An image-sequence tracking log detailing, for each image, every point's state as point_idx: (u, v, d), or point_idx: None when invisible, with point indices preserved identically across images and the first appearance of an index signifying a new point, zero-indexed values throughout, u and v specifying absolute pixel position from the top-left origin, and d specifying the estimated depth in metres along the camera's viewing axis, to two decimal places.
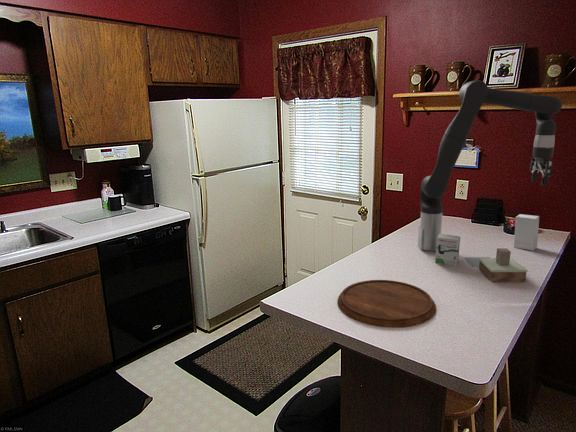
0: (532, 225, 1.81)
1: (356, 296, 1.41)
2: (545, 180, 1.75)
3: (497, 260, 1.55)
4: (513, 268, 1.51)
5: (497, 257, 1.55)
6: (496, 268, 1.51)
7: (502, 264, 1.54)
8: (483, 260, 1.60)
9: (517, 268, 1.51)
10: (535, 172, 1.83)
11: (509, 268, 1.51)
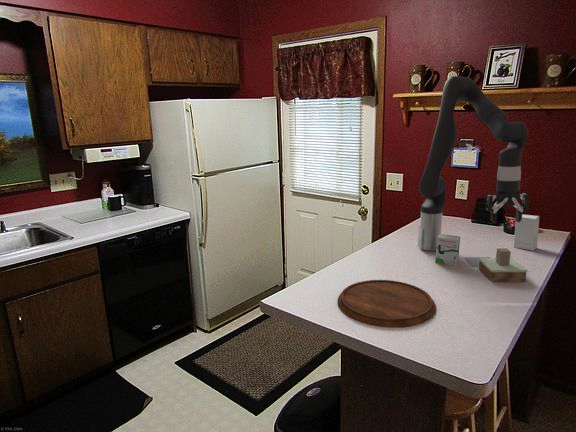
0: (532, 225, 1.81)
1: (356, 296, 1.41)
2: None
3: (497, 260, 1.55)
4: (513, 268, 1.51)
5: (497, 257, 1.55)
6: (496, 268, 1.51)
7: (502, 264, 1.54)
8: (483, 260, 1.60)
9: (517, 268, 1.51)
10: None
11: (509, 268, 1.51)
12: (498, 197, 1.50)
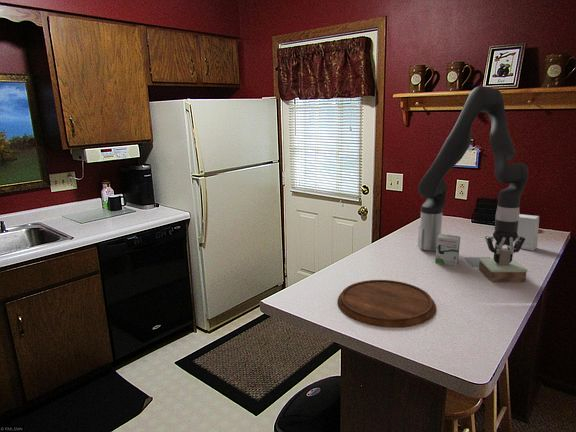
0: (532, 225, 1.81)
1: (356, 296, 1.41)
2: None
3: None
4: (513, 268, 1.51)
5: None
6: (496, 268, 1.51)
7: (502, 264, 1.54)
8: (483, 260, 1.60)
9: (517, 268, 1.51)
10: None
11: (509, 268, 1.51)
12: (496, 237, 1.52)
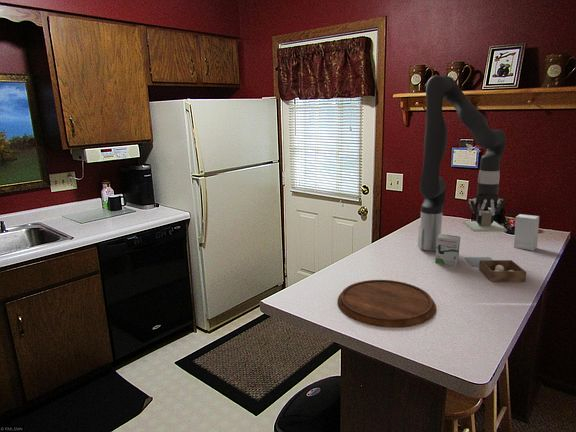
0: (532, 225, 1.81)
1: (356, 296, 1.41)
2: None
3: None
4: (494, 228, 1.62)
5: None
6: (478, 228, 1.63)
7: (484, 225, 1.65)
8: (467, 222, 1.71)
9: (497, 228, 1.62)
10: None
11: (490, 228, 1.62)
12: (478, 199, 1.64)
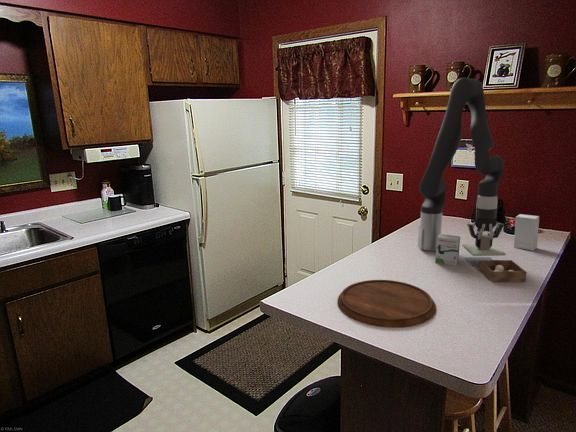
0: (532, 225, 1.81)
1: (356, 296, 1.41)
2: None
3: None
4: (493, 252, 1.65)
5: None
6: (477, 252, 1.65)
7: (483, 249, 1.68)
8: (466, 246, 1.73)
9: (496, 252, 1.65)
10: None
11: (489, 252, 1.65)
12: (477, 223, 1.66)
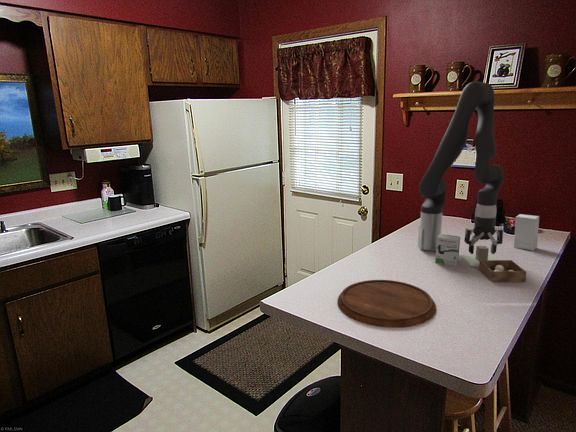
0: (532, 225, 1.81)
1: (356, 296, 1.41)
2: None
3: (477, 256, 1.71)
4: None
5: (477, 254, 1.70)
6: (475, 264, 1.67)
7: None
8: (464, 257, 1.75)
9: None
10: None
11: None
12: (475, 231, 1.67)
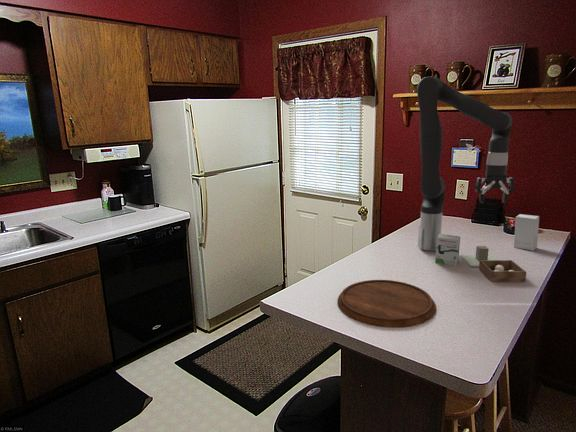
0: (532, 225, 1.81)
1: (356, 296, 1.41)
2: None
3: (477, 256, 1.71)
4: None
5: (477, 254, 1.70)
6: (475, 264, 1.67)
7: None
8: (464, 257, 1.75)
9: None
10: None
11: None
12: (486, 180, 1.68)
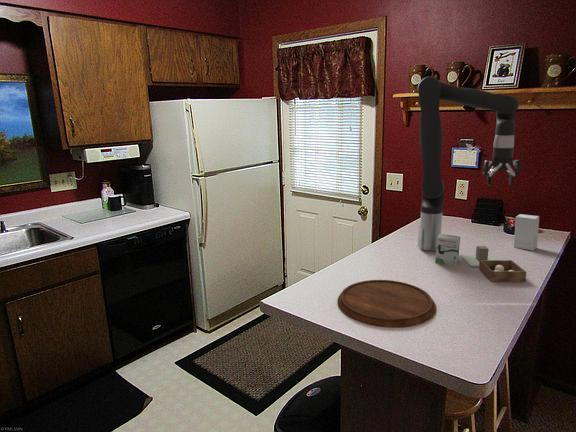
0: (532, 225, 1.81)
1: (356, 296, 1.41)
2: None
3: (477, 256, 1.71)
4: None
5: (477, 254, 1.70)
6: (475, 264, 1.67)
7: None
8: (464, 257, 1.75)
9: None
10: None
11: None
12: (493, 162, 1.73)
